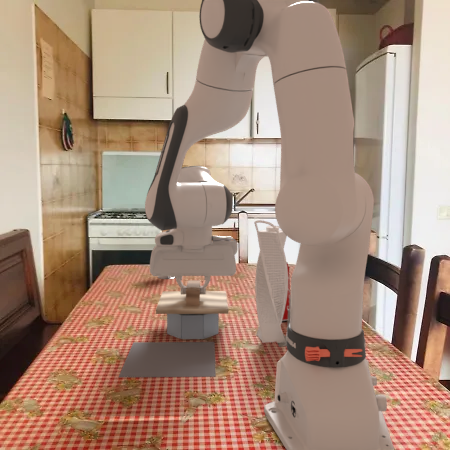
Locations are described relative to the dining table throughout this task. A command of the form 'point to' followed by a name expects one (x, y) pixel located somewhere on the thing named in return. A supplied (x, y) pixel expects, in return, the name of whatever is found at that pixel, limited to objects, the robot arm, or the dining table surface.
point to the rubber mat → (170, 360)
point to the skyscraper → (271, 284)
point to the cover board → (205, 303)
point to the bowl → (192, 325)
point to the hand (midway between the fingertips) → (193, 293)
